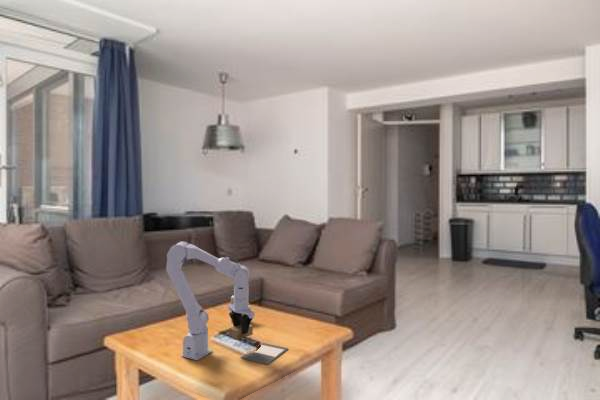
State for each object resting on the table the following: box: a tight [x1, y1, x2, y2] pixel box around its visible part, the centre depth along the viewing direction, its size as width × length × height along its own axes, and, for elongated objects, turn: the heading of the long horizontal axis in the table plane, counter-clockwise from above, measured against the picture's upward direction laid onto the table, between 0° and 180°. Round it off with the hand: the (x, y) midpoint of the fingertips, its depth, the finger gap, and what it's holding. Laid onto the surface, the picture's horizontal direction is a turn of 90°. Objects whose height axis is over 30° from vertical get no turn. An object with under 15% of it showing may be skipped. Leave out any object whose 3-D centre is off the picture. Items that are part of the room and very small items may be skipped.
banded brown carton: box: [228, 324, 254, 341], centre depth 159 cm, size 8×4×4 cm, turn 134°
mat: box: [240, 342, 289, 366], centre depth 159 cm, size 16×12×1 cm
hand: (241, 331), depth 159 cm, fingers closed on banded brown carton, 4 cm apart
